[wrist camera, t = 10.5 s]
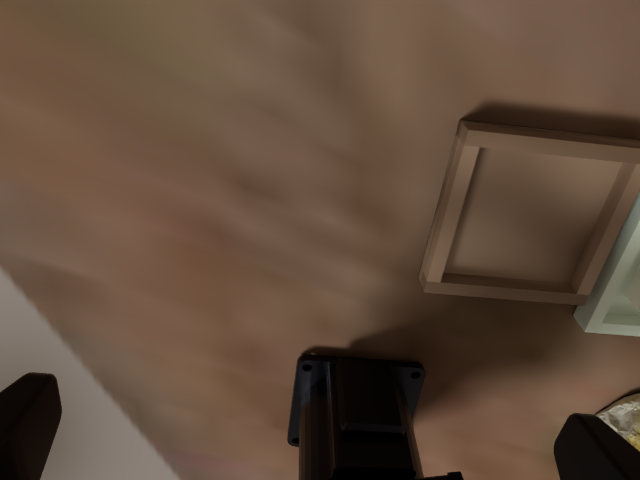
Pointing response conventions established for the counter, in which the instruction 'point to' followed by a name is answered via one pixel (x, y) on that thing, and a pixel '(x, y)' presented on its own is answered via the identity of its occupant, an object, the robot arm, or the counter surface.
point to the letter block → (634, 290)
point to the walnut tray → (528, 213)
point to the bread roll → (624, 418)
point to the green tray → (615, 285)
